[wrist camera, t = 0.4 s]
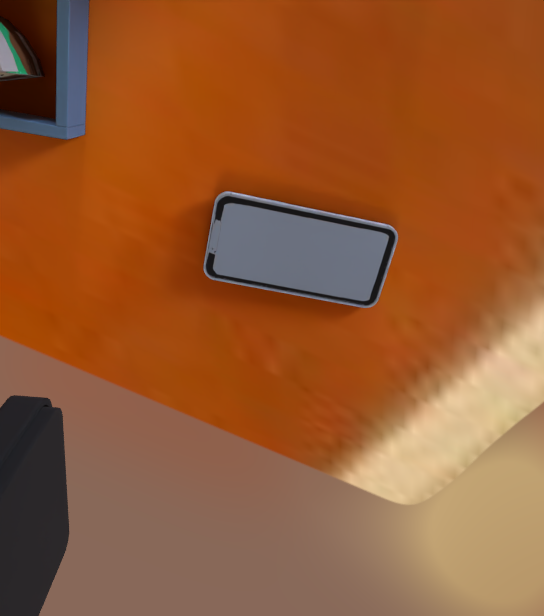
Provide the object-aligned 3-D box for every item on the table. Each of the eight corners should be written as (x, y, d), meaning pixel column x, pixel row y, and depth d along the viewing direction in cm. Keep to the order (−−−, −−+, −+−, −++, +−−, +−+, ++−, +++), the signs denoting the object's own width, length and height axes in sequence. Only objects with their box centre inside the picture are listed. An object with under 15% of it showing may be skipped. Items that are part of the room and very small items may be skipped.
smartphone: (375, 310, 45) (201, 278, 43) (372, 306, 46) (202, 274, 44) (401, 228, 42) (216, 189, 40) (398, 225, 43) (217, 187, 41)
